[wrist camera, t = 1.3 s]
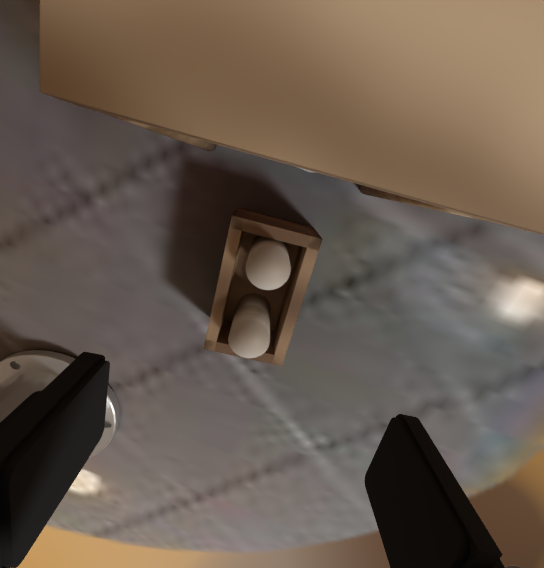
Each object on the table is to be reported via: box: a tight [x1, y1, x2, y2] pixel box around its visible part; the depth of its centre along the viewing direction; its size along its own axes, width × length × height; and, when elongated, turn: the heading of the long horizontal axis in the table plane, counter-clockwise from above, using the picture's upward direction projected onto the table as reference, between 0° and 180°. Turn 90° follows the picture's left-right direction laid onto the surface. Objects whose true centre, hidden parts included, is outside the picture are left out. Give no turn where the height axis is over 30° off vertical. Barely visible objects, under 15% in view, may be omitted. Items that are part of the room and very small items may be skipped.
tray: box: [204, 208, 322, 366], centre depth 23 cm, size 10×6×6 cm, turn 165°
